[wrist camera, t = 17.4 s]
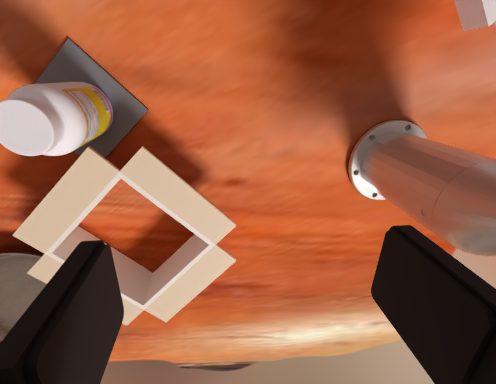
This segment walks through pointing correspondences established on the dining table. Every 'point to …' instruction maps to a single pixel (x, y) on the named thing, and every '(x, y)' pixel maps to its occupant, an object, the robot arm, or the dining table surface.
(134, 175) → the carton
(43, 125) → the supplement bottle
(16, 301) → the plant saucer
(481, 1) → the pixel art tile
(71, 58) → the coaster mat
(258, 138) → the dining table surface
